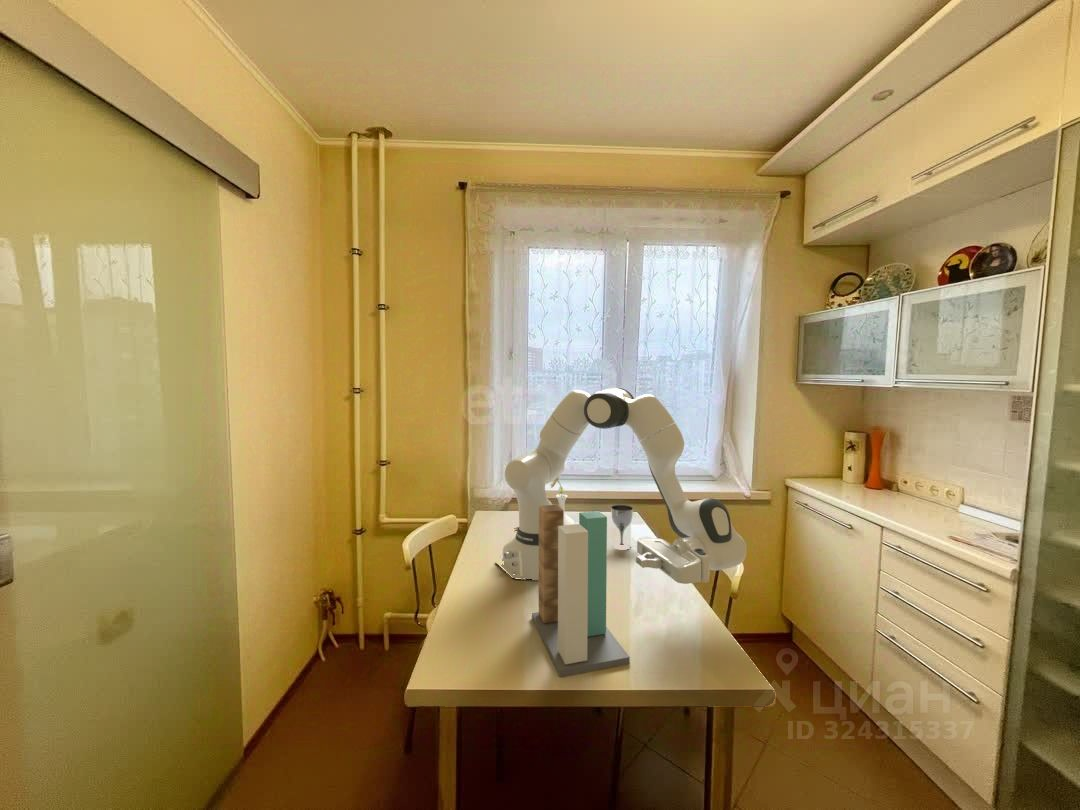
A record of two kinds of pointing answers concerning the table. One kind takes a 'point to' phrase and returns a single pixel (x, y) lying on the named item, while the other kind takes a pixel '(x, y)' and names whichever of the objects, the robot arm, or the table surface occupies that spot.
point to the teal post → (596, 570)
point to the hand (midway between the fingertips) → (638, 562)
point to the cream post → (572, 593)
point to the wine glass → (621, 517)
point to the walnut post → (549, 561)
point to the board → (599, 650)
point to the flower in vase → (562, 503)
